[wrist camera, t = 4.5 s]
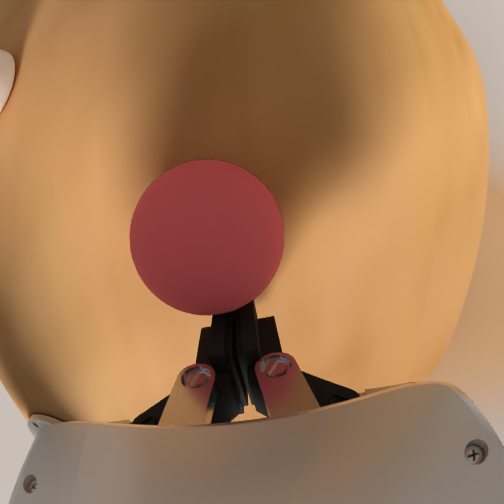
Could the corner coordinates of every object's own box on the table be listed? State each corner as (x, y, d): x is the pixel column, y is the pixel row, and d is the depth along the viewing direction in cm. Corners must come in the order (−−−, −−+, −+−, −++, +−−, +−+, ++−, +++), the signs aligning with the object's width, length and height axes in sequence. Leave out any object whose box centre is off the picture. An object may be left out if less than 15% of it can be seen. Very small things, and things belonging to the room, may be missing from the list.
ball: (242, 370, 8) (194, 220, 5) (136, 313, 11) (80, 199, 8) (309, 268, 12) (304, 142, 9) (210, 243, 14) (186, 142, 11)
